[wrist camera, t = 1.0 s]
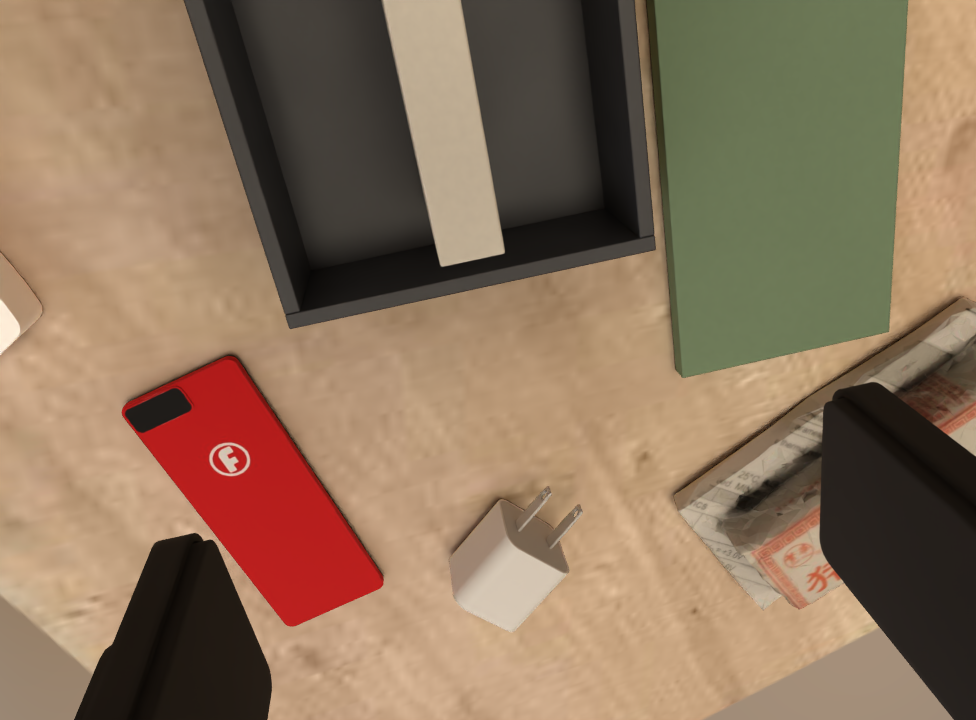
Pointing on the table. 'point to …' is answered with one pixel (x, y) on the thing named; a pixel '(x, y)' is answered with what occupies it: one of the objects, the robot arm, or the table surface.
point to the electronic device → (254, 490)
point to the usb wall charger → (510, 563)
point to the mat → (777, 172)
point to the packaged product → (798, 456)
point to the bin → (390, 155)
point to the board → (445, 126)
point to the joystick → (15, 305)
